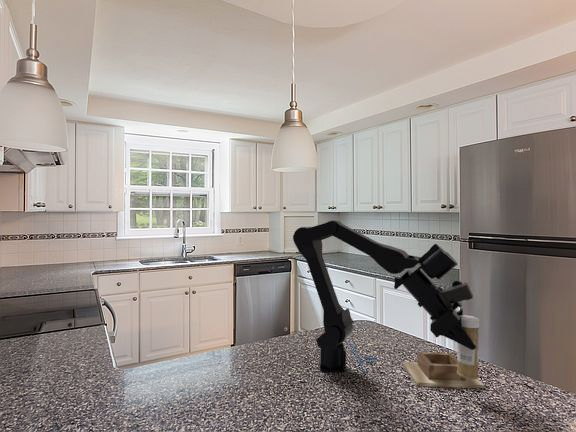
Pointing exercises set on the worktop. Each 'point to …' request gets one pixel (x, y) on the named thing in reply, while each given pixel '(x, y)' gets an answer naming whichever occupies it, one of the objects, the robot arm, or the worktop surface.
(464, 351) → the sprinkles bottle
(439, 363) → the bottle stand
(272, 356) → the worktop surface
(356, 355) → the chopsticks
